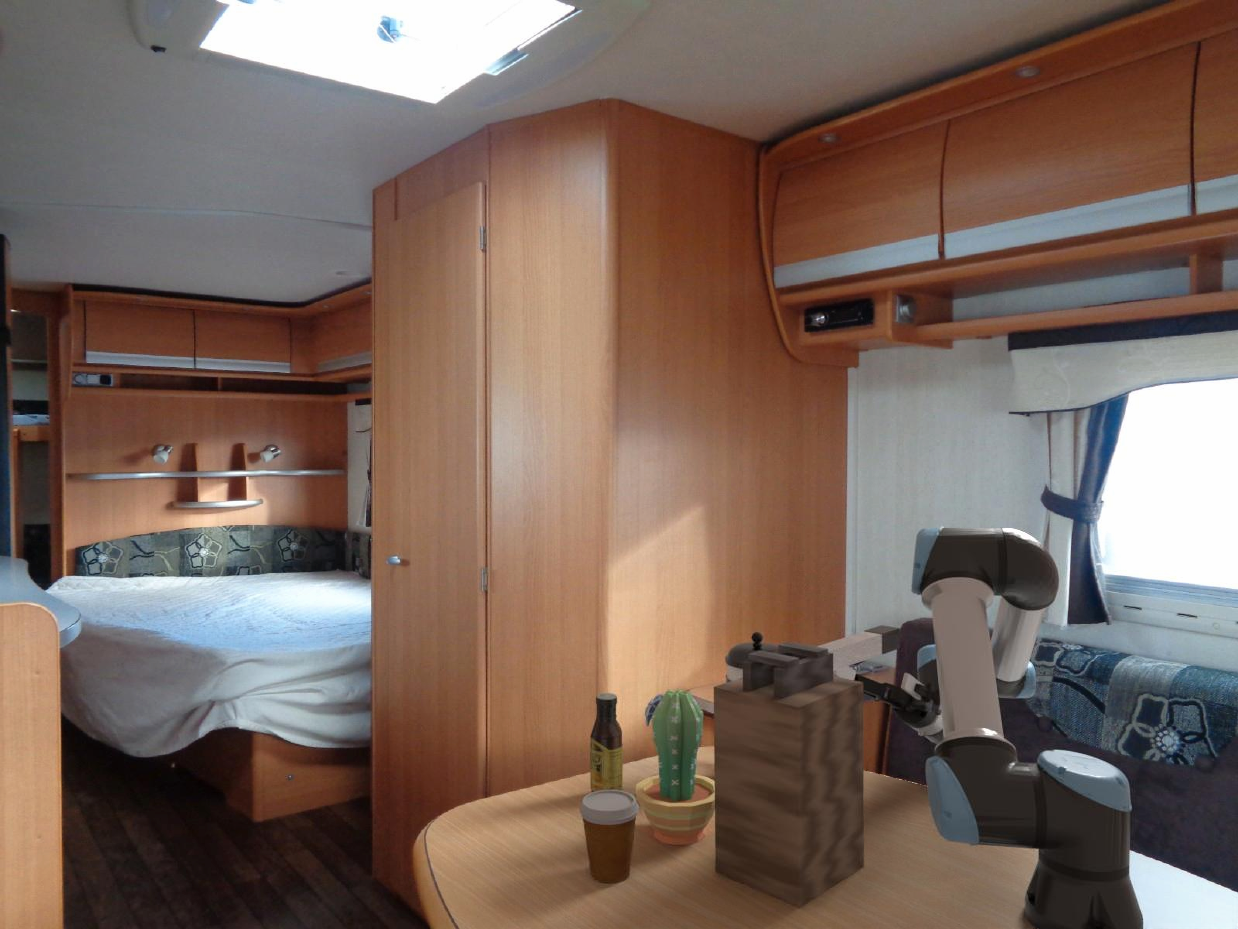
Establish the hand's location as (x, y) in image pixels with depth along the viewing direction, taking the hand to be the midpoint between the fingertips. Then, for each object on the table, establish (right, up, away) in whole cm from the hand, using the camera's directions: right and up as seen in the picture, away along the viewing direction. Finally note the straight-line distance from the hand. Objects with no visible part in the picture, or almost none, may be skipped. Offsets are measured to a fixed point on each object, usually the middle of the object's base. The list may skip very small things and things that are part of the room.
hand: (869, 673), depth 168 cm
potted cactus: (-34, -28, -2) cm, 44 cm away
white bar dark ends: (-4, +3, -4) cm, 7 cm away
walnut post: (-17, -28, -16) cm, 36 cm away
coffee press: (-17, -26, +23) cm, 39 cm away
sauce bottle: (-47, -27, +14) cm, 56 cm away
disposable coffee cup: (-46, -29, -17) cm, 56 cm away
